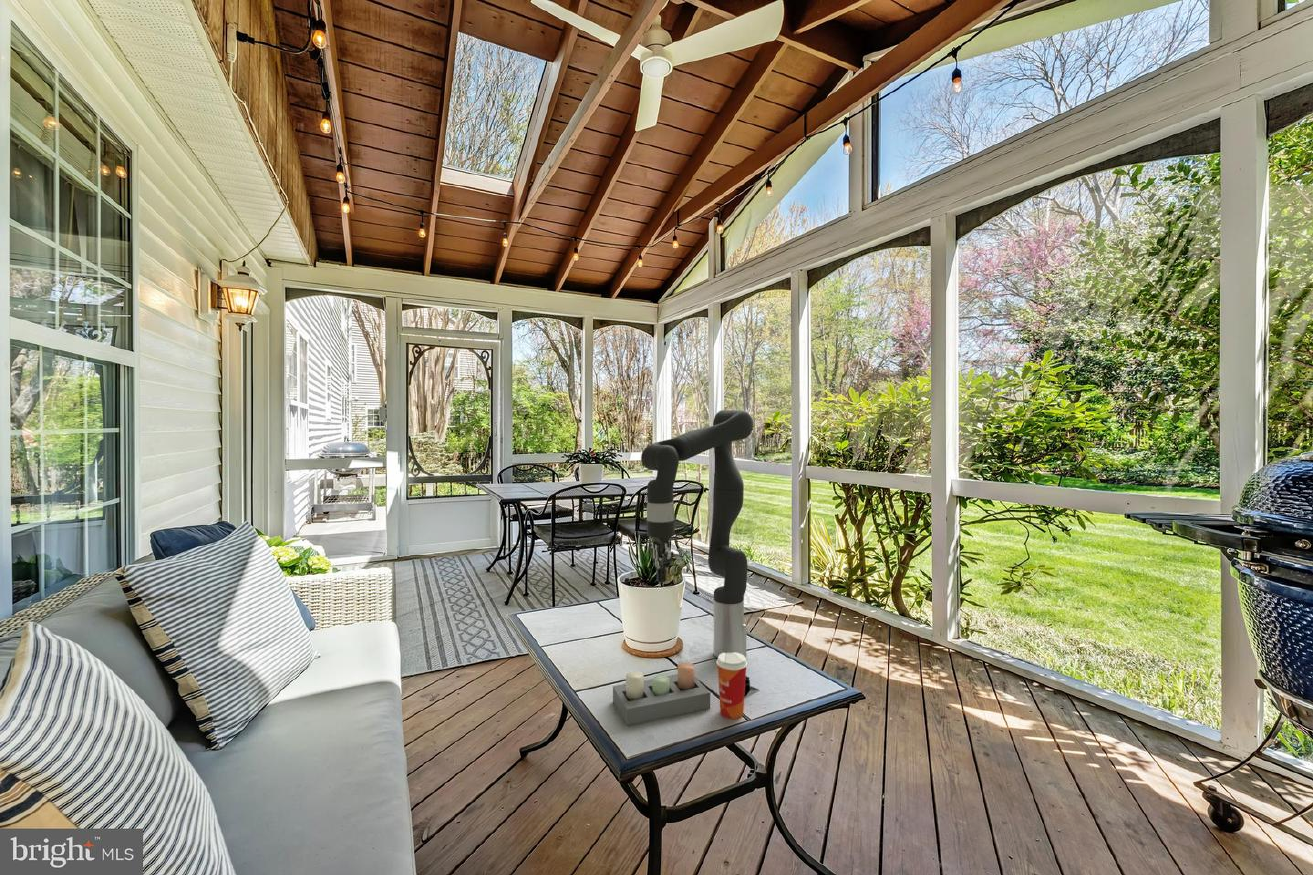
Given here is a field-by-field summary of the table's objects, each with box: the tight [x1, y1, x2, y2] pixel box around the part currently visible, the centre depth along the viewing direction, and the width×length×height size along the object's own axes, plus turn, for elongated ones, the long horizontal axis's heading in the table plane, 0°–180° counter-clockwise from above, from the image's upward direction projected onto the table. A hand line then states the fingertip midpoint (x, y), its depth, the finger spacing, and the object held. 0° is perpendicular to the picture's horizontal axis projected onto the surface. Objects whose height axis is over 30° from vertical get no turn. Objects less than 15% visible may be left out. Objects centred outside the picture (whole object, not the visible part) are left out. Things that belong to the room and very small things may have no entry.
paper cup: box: [716, 652, 748, 720], centre depth 138 cm, size 8×8×14 cm
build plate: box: [744, 675, 761, 700], centre depth 148 cm, size 12×7×5 cm, turn 133°
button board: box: [612, 673, 711, 727], centre depth 142 cm, size 22×12×4 cm, turn 111°
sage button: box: [651, 675, 670, 696], centre depth 142 cm, size 4×4×5 cm
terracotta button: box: [677, 662, 696, 690], centre depth 144 cm, size 4×4×5 cm
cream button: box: [625, 671, 644, 700], centre depth 139 cm, size 4×4×5 cm
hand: (661, 581), depth 152 cm, fingers closed
